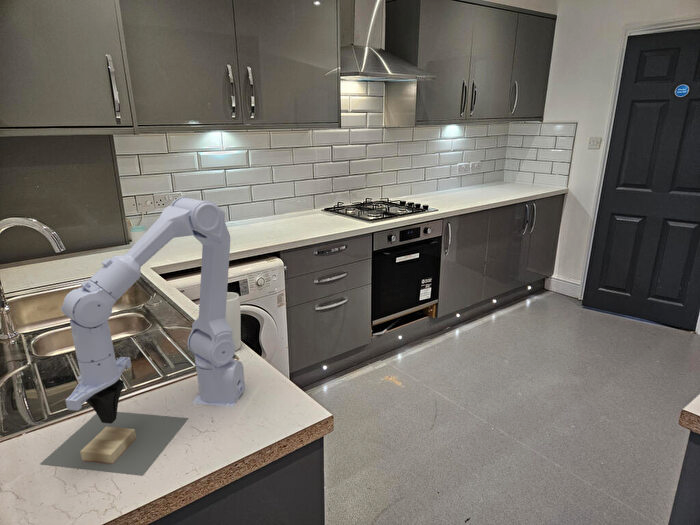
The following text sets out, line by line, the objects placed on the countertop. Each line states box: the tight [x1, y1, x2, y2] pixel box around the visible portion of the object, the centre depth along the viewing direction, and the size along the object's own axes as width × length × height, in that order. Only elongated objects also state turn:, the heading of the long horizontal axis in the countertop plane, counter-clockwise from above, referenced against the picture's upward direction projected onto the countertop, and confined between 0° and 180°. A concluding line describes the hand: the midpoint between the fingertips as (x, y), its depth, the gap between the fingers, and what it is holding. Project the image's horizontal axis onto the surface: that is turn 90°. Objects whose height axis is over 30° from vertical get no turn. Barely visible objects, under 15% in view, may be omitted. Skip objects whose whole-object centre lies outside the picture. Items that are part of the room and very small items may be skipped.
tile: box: [80, 427, 136, 464], centre depth 84 cm, size 6×2×7 cm
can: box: [130, 225, 148, 247], centre depth 219 cm, size 7×7×12 cm
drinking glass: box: [226, 291, 242, 352], centre depth 121 cm, size 7×7×15 cm
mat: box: [39, 411, 190, 477], centre depth 87 cm, size 20×16×1 cm
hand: (109, 420), depth 84 cm, fingers closed
